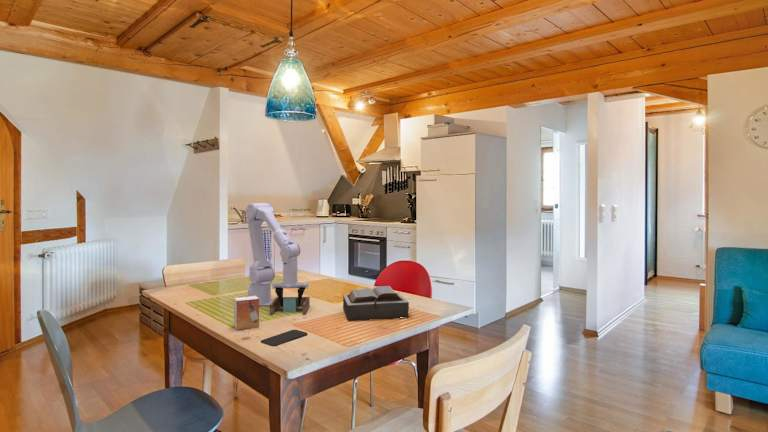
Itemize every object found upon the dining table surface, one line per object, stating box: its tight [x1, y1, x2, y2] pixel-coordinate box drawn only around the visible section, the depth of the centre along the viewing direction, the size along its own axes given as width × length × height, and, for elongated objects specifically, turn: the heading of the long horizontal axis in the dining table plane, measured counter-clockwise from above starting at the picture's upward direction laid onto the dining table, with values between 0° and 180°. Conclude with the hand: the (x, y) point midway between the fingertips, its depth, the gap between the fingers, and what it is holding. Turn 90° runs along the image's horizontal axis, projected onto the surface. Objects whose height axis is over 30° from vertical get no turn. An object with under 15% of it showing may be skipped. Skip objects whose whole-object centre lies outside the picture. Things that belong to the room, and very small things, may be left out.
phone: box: [260, 329, 308, 347], centre depth 145 cm, size 7×1×15 cm
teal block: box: [282, 296, 299, 313], centre depth 179 cm, size 5×5×5 cm
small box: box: [233, 296, 260, 331], centre depth 157 cm, size 8×6×10 cm
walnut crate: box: [269, 296, 311, 316], centre depth 179 cm, size 14×14×4 cm
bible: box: [342, 285, 410, 322], centre depth 176 cm, size 23×27×10 cm
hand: (290, 305), depth 179 cm, fingers open, 6 cm apart
